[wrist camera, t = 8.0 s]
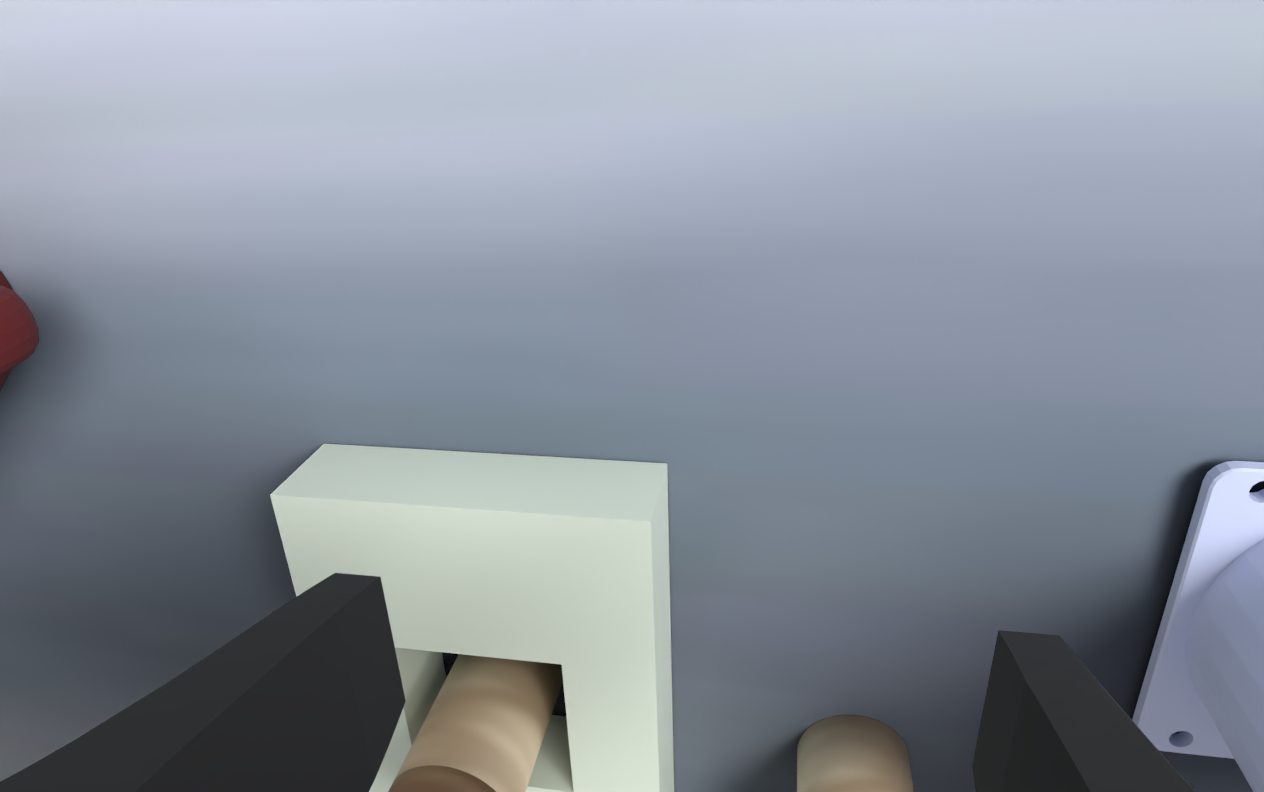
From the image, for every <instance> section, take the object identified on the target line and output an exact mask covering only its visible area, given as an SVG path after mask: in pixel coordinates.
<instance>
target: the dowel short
mask: <svg viewBox="0 0 1264 792" xmlns="http://www.w3.org/2000/svg"><path fill="white" fill-rule="evenodd" d="M797 792H914V788H913V781H912V774H911V767H910V760H909V753H908V749H907V746H906V744H905V742H904V741H903V739H902V738H901V737H900V736H899V734H898V733H897V732H896V731H894V730H893V729H892V728H890V727H889V726H887V725H886V724H884V723H882V722H880V721H877V720H875V719H872V718H868V717H864V716H858V715H839V716H833V717H829V718H825V719H823V720H820V721H818V722H816V723H814V724H813V725H812V726H810V727H809V728H808V729H807V730H806V731H805V732H804V733H803V734H802V736H801V738H800V740H799V743H798V747H797Z"/></svg>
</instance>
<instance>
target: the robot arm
mask: <svg viewBox="0 0 1264 792" xmlns="http://www.w3.org/2000/svg"><path fill="white" fill-rule="evenodd" d="M1260 481H1264V462H1248V461H1229V462H1224V463H1221V464H1219V465H1216V466H1214V467H1213V468H1212V469H1211V470H1210V471H1208V472H1207V474H1206V476H1205V477H1204V479H1203V482H1202V485H1201V489H1200V492H1199V495H1198V499H1197V502H1196V505H1195V509H1194V512H1193V516H1192V519H1191V522H1190V526H1189V529H1188V533H1187V536H1186V539H1185V543H1184V546H1183V549H1182V553H1181V556H1180V560H1179V563H1178V566H1177V570H1176V573H1175V576H1174V580H1173V583H1172V587H1171V590H1170V593H1169V597H1168V600H1167V604H1166V607H1165V610H1164V614H1163V617H1162V620H1161V624H1160V627H1159V631H1158V634H1157V637H1156V641H1155V644H1154V647H1153V651H1152V654H1151V658H1150V661H1149V664H1148V668H1147V671H1146V675H1145V678H1144V681H1143V685H1142V688H1141V691H1140V695H1139V698H1138V702H1137V705H1136V708H1135V712H1134V715H1133V718H1132V719H1131V718H1130V717H1129V716H1128V715H1127V714H1126V713H1125V711H1124V710H1123V709H1122V708H1121V707H1120V706H1119V704H1118V703H1117V702H1116V701H1115V700H1114V699H1113V697H1112V696H1111V695H1110V694H1109V693H1108V692H1107V690H1106V689H1105V688H1104V687H1103V686H1102V685H1101V683H1100V682H1099V681H1098V680H1097V679H1096V678H1095V676H1094V675H1093V674H1092V673H1091V672H1090V671H1089V669H1088V668H1087V667H1086V666H1085V665H1084V664H1083V662H1082V661H1081V660H1080V659H1079V658H1078V657H1077V655H1076V654H1075V653H1074V652H1073V651H1072V650H1071V649H1070V648H1069V646H1068V645H1067V644H1066V643H1065V642H1064V641H1063V640H1062V639H1061V637H1060V636H1057V635H1045V634H1034V633H1022V632H1011V631H998V636H997V641H996V646H995V651H994V657H993V662H992V667H991V672H990V678H989V683H988V688H987V693H986V698H985V704H984V709H983V714H982V719H981V724H980V730H979V735H978V740H977V745H976V751H975V756H974V761H973V773H974V781H975V788H976V792H1196V791H1195V790H1194V789H1193V788H1192V786H1191V785H1190V784H1189V783H1188V782H1187V781H1186V780H1185V779H1184V778H1183V777H1182V776H1181V775H1180V773H1179V772H1178V771H1177V770H1176V769H1175V768H1174V767H1173V766H1172V765H1171V764H1170V762H1169V761H1168V760H1167V759H1166V758H1165V757H1164V756H1163V755H1162V754H1161V752H1160V751H1166V752H1175V753H1184V754H1194V755H1203V756H1212V757H1222V758H1231V759H1235V760H1236V762H1237V764H1238V766H1239V767H1240V769H1241V771H1242V773H1243V774H1244V776H1245V778H1246V780H1247V782H1248V783H1249V785H1250V787H1251V789H1252V790H1253V792H1264V489H1262V490H1260V491H1259V492H1252V493H1250V492H1249V491H1250V489H1251V488H1252V486H1253V485H1255V484H1256V483H1258V482H1260ZM405 702H406V700H405V695H404V690H403V685H402V680H401V676H400V671H399V666H398V661H397V656H396V651H395V646H394V641H393V636H392V631H391V626H390V621H389V616H388V611H387V606H386V602H385V597H384V592H383V587H382V582H381V577H378V576H367V575H355V574H344V573H334V574H332V575H331V576H329V577H327V578H326V579H324V580H322V581H321V582H319V583H317V584H316V585H314V586H313V587H311V588H309V589H308V590H306V591H305V592H303V593H302V594H300V595H299V596H297V597H296V598H294V599H293V600H291V601H290V602H288V603H287V604H285V605H284V606H282V607H281V608H279V609H278V610H276V611H275V612H273V613H272V614H270V615H269V616H267V617H266V618H264V619H263V620H261V621H260V622H258V623H257V624H255V625H254V626H252V627H251V628H249V629H248V630H246V631H245V632H243V633H242V634H240V635H239V636H237V637H236V638H234V639H233V640H231V641H230V642H228V643H227V644H225V645H224V646H222V647H221V648H219V649H218V650H216V651H215V652H213V653H212V654H210V655H209V656H207V657H206V658H204V659H203V660H201V661H200V662H198V663H197V664H195V665H194V666H192V667H191V668H189V669H188V670H186V671H185V672H183V673H182V674H180V675H179V676H177V677H176V678H174V679H173V680H171V681H170V682H168V683H166V684H165V685H163V686H162V687H160V688H158V689H157V690H155V691H154V692H152V693H150V694H149V695H147V696H145V697H144V698H142V699H141V700H139V701H137V702H136V703H134V704H132V705H131V706H129V707H128V708H126V709H124V710H123V711H121V712H120V713H118V714H116V715H115V716H113V717H111V718H110V719H108V720H107V721H105V722H103V723H102V724H100V725H99V726H97V727H95V728H94V729H92V730H90V731H89V732H87V733H86V734H84V735H82V736H81V737H79V738H78V739H76V740H74V741H72V742H71V743H69V744H67V745H66V746H64V747H62V748H60V749H59V750H57V751H55V752H53V753H52V754H50V755H48V756H46V757H45V758H43V759H41V760H39V761H38V762H36V763H34V764H32V765H30V766H29V767H27V768H25V769H23V770H22V771H20V772H18V773H16V774H14V775H12V776H10V777H9V778H7V779H5V780H3V781H1V782H0V792H369V790H370V788H371V786H372V784H373V782H374V780H375V778H376V776H377V773H378V771H379V768H380V766H381V764H382V761H383V759H384V756H385V754H386V752H387V749H388V747H389V744H390V742H391V739H392V736H393V734H394V731H395V728H396V726H397V723H398V720H399V718H400V715H401V712H402V710H403V707H404V704H405ZM1177 731H1184V732H1181V733H1179V734H1173V733H1175V732H1177Z"/></svg>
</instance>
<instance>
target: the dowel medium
mask: <svg viewBox="0 0 1264 792" xmlns="http://www.w3.org/2000/svg"><path fill="white" fill-rule="evenodd" d="M562 683H563V675H562V665H561V664H551V663H542V662H532V661H522V660H512V659H503V658H493V657H483V656H473V655H463V654H459V655H458V656H457V658H456V660H455V662H454V664H453V666H452V668H451V670H450V672H449V674H448V676H447V678H446V680H445V682H444V684H443V686H442V688H441V690H440V692H439V694H438V696H437V697H436V699H435V701H434V703H433V705H432V707H431V709H430V711H429V713H428V715H427V717H426V719H425V721H424V723H423V725H422V727H421V729H420V731H419V733H418V735H417V736H416V738H415V740H414V742H413V744H412V746H411V748H410V750H409V752H408V754H407V756H406V758H405V760H404V762H403V764H402V766H401V768H400V770H399V772H398V774H397V776H396V777H395V779H394V781H393V783H392V785H391V787H390V789H389V791H388V792H526V789H527V786H528V783H529V780H530V777H531V774H532V771H533V768H534V765H535V762H536V759H537V756H538V753H539V751H540V748H541V745H542V742H543V739H544V736H545V733H546V730H547V727H548V724H549V721H550V718H551V715H552V712H553V709H554V706H555V703H556V701H557V698H558V695H559V692H560V689H561V686H562Z"/></svg>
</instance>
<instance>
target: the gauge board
mask: <svg viewBox="0 0 1264 792" xmlns="http://www.w3.org/2000/svg"><path fill="white" fill-rule="evenodd" d="M270 497H271V501H272V504H273V508H274V512H275V516H276V520H277V524H278V528H279V531H280V535H281V539H282V543H283V547H284V551H285V555H286V559H287V562H288V566H289V570H290V574H291V578H292V582H293V586H294V589H295V593H296V597H297V596H299V595H300V594H302V593H303V592H305V591H306V590H308V589H309V588H311V587H313V586H314V585H316V584H317V583H319V582H321V581H322V580H324V579H326V578H327V577H329V576H331V575H332V574H334V573H344V574H355V575H367V576H378V577H381V582H382V587H383V592H384V597H385V602H386V606H387V611H388V616H389V621H390V626H391V631H392V636H393V641H394V646H395V651H396V656H397V661H398V666H399V671H400V676H401V680H402V685H403V690H404V695H405V700H406V702H405V704H404V707H403V710H402V712H401V715H400V718H399V720H398V723H397V726H396V728H395V731H394V734H393V736H392V739H391V742H390V744H389V747H388V749H387V752H386V754H385V756H384V759H383V761H382V764H381V766H380V768H379V771H378V773H377V776H376V778H375V780H374V782H373V784H372V786H371V788H370V790H369V792H388V791H389V789H390V787H391V785H392V783H393V781H394V779H395V777H396V776H397V774H398V772H399V770H400V768H401V766H402V764H403V762H404V760H405V758H406V756H407V754H408V752H409V750H410V748H411V746H412V744H413V742H414V740H415V738H416V736H417V735H418V733H419V731H420V729H421V727H422V725H423V723H424V721H425V719H426V717H427V715H428V713H429V711H430V709H431V707H432V705H433V703H434V701H435V699H436V697H437V696H438V694H439V692H440V690H441V688H442V686H443V684H444V682H445V680H446V673H445V668H444V662H443V656H442V652H444V653H454V654H463V655H473V656H483V657H493V658H503V659H512V660H522V661H532V662H542V663H551V664H561V665H562V675H563V686H564V696H565V707H566V716H558V715H551V718H550V721H549V724H548V727H547V730H546V733H545V736H544V739H543V742H542V745H541V748H540V751H539V753H538V756H537V759H536V762H535V765H534V768H533V771H532V774H531V777H530V780H529V783H528V786H527V789H526V792H674V763H673V716H672V669H671V622H670V574H669V527H668V480H667V464H666V463H649V462H632V461H615V460H597V459H580V458H563V457H546V456H528V455H511V454H494V453H477V452H459V451H442V450H425V449H407V448H390V447H373V446H356V445H338V444H323V445H322V446H321V447H320V448H319V449H318V450H317V451H316V452H315V453H313V454H312V455H311V456H310V457H309V458H308V459H307V460H306V461H305V462H304V463H303V464H302V465H301V466H300V467H299V468H298V469H297V470H296V471H295V472H293V473H292V474H291V475H290V476H289V477H288V478H287V479H286V480H285V481H284V482H283V483H282V484H281V485H280V486H279V487H278V488H277V489H276V490H275V491H273V492H272V493H271V494H270Z"/></svg>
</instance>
